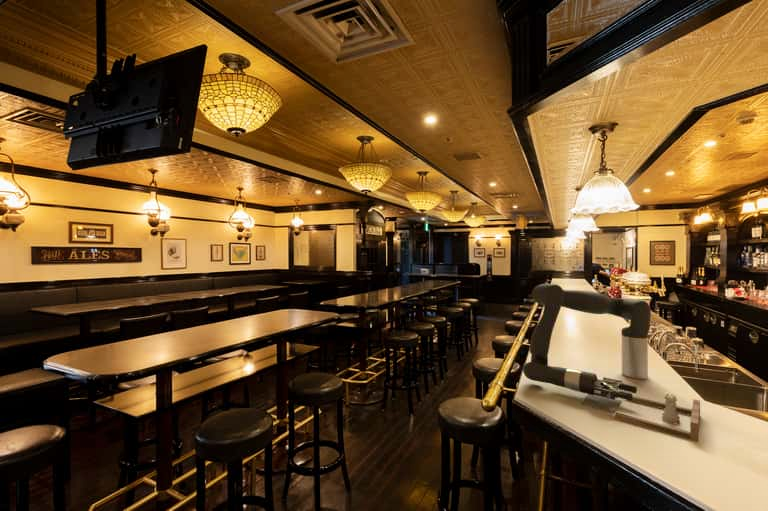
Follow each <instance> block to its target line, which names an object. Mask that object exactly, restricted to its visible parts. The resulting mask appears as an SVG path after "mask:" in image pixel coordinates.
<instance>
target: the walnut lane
mask: <svg viewBox="0 0 768 511" xmlns="http://www.w3.org/2000/svg"><path fill="white" fill-rule="evenodd" d="M627 401H628V402H632V403H637V404H640V405H645V406H649V405H650V407H653V406H655V407H654V408H657V407H661V408H660V409H662V408H665V407H666V403H665V402H661V401H656V400H652V399H647V398H644V397H640V396H639V397H638V396H635V395H633V399H632V401H630V400H627ZM691 406H692V407H691V408H692V409H691V408H688V407H687V408H686V407H683V406H679V405H678V406H677V405H676V411H677V413H678V412H681V413H680V414H682V413H684V415H687V414H689V415H688V416H690V421H689V423H690V424H689V425H690V426H689V427H690V431H688V430H684V429H681V428H676V427H672V426H669V425H665V424H662V423H659V422H654V421H649V420H647V419H644V418H643V419H642V418H639V417H635V416H631V415H628V414H623V413H620V412H616V411H615V414H614V419H615V420H618V421H623V422H625V423H629V424H632V425H633V424H634V425H636V426H637V425H638V426H641V427H644V428H648V429H652V430H655V431H659V432H662V433H665V434H669V435H673V436H676V437H679V438H684V439H687V440H690V441H695V442H699V435H700V434H699V433H700V425H701V424H700V422H701V400H698V399H695V398H694V399H693V400H692V405H691Z"/></svg>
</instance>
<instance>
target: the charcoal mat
mask: <svg viewBox="0 0 768 511" xmlns="http://www.w3.org/2000/svg"><path fill="white" fill-rule="evenodd" d="M621 403H622V399H619V398H615V399H610V398H606V397H602V396H598V395H590V394H587V395H586V396H585V397H584V398H583V399H582V401H581V402H580V404H581V405H583V406H588V407H590V408H595V409H598V410H602V411H606V412H610V413H613V414H614V413H616V411H617V409H618V408H619V407H620V405H621Z"/></svg>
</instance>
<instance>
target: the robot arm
mask: <svg viewBox="0 0 768 511" xmlns="http://www.w3.org/2000/svg"><path fill="white" fill-rule="evenodd" d="M531 297H532V299H533V301H534V302H535V303H536V304H537V305H540V306H543V312H542V315H541V317H540V320H539V322H538V323H537V325H535V328H534V329H533V332H532V335H531V338H530V339H531V340H530V346H529V354H530V355H531V356H530V361H529V362H527V363H525V364H524V366H523V367H522V371H523V374H524V376H525V377H526V378H527V379H529V381H530V380H531V381H534V382H539V383H544V384H551V385H554V386H557V387H561V388H565V389H569V390H571V391H574V392H578V393H583V394H587V395H588V394H590V395H598V396H602V397H606V398H610V399H620V400H626V401H628V400H630V401H629V402H632V399H633V396H634V395H633V394H636V393H637V392H638V388H637V387H638V386H636V385H631V384H627V383H624V382H623V381H622V380H621V379H620V380H619V379H614V378H609V377H606V376H605V377H602V379H599V378H598V376H597V374H596V373H593V372H587V371H583V370H578V369H572V368H571V369H570V368H565V367H561V366H551V365H549V363H548V362H549V359H548V358H549V357H548V356H549V351H550V345H551V340H552V335H553V331H554V328H555V324H556V322H557V319H558V316H559V314H560V310H561V307H562V308H566V309H570V310H572V311H573V310H574V311H577V312H582V313H585V314H586V313H587V314H593V315H604V314H608V315H612V316H616V317H618V318H622V319H625V320H629V321H630V325H629V326H627V327H626V326H625V327H622V328H621V374H622V376H626V377H628V378H631V379H638V380H647V379H648V377H649V375H648V374H649V360H648V359H649V349H648V348H649V347H648V346H649V344H648V342H649V341H648V337H649V336H648V335H649V332H650V329H651V328H650V327H651V313H652V312H651V307H650V304H649V303H648V302H647V301H645V300H641V299H635V298H625V297H624V298H619V297H609V296H608V295H605V294H603V293H599V292H595V291H590V290H579V289H576V290H575V289H563V288H562V286H560V285H559V284H557V283H556V284H555V283H541V284H538V285H535V287H534V288H533V289H532V292H531Z"/></svg>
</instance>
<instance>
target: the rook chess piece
mask: <svg viewBox="0 0 768 511" xmlns="http://www.w3.org/2000/svg"><path fill="white" fill-rule="evenodd" d="M664 399H665V401H664V403H666V407H665V409H664V411H663V412H662V413H661V415H662V416H661V418H662V420H663V419H664V420H663V421H664V422H666V421H667V423H669V422H670V423H671V424H674V423H677V424H679V423H681V420H680V416H679V415H678V412H677V411H676V406H677V405H678V404H677V403H676V402H677V401H678V398H677V396H676V395H673V394H672V393H671V394H670V393H666V394H665V396H664ZM670 423H669V424H670Z"/></svg>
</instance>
